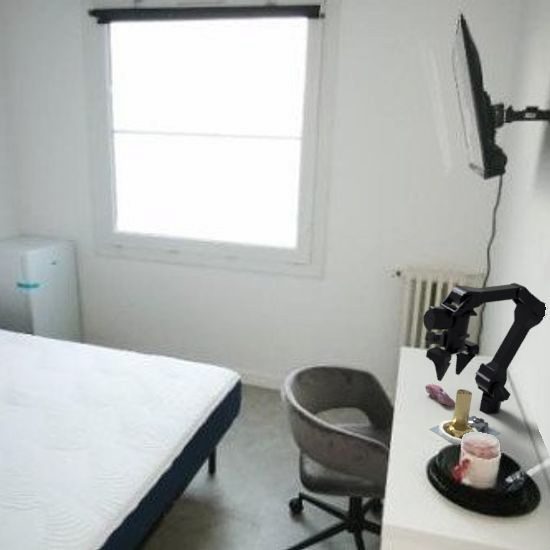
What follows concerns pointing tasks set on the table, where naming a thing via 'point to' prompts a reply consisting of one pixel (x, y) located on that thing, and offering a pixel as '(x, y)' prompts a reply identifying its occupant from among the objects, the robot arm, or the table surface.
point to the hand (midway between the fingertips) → (448, 377)
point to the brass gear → (460, 415)
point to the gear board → (441, 432)
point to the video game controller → (439, 394)
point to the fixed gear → (477, 424)
